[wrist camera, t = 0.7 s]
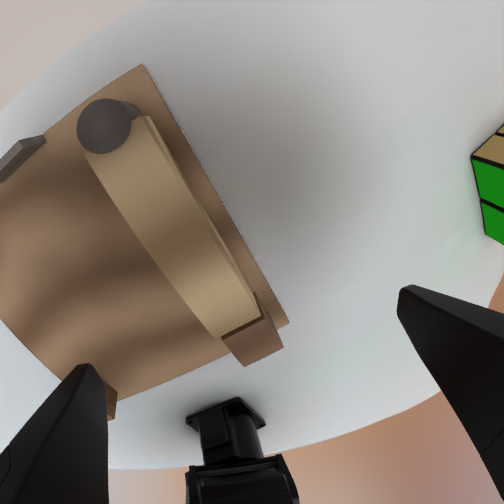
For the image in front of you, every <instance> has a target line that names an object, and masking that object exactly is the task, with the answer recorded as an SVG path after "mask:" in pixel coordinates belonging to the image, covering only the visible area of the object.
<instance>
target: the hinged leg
mask: <svg viewBox="0 0 504 504" xmlns="http://www.w3.org/2000/svg"><path fill="white" fill-rule="evenodd" d="M76 130H77V137H78V140H79V142H80V143H81V145H82V146H83V147H84V148H85V149H86V150H88V152H86V153H85V154H84V155H85V157H86V159H87V160H88V162H89V164H90V165H91V167H92V169H93V170H94V172H95V174H96V175H97V177H98V178H99V180H100V182H101V183H102V185H103V186H104V188H105V190H106V191H107V193H108V194H109V196H110V197H111V199H112V200H113V202H114V203H115V205H116V206H117V208H118V210H119V211H120V213H121V214H122V216H123V217H124V219H125V220H126V221H127V223H128V224H129V226H130V227H131V229H132V230H133V232H134V233H135V235H136V236H137V237H138V239H139V240H140V242H141V243H142V245H143V246H144V247H145V249H146V250H147V252H148V253H149V254H150V256H151V257H152V259H153V260H154V261H155V263H156V264H157V265H158V267H159V268H160V270H161V271H162V272H163V274H164V275H165V276H166V278H167V279H168V280H169V282H170V283H171V284H172V286H173V287H174V288H175V290H176V291H177V292H178V294H179V295H180V296H181V297H182V299H183V300H184V301H185V303H186V304H187V305H188V306H189V308H190V309H191V310H192V311H193V313H194V314H195V315H196V316H197V318H198V319H199V320H200V321H201V323H202V324H203V325H204V326H205V328H206V329H207V330H208V331H209V333H210V334H211V335H212V336H213V337H214V339H216V338H218V337H220V336H222V335H224V334H226V333H228V332H230V331H232V330H234V329H236V328H238V327H240V326H242V325H244V324H246V323H248V322H250V321H252V320H254V319H256V318H258V317H259V316H261V314H260V311H259V308H258V306H257V303H256V300H255V298H254V295H253V292H252V290H251V287H250V284H249V282H248V281H247V279H246V278H245V276H244V274H243V273H242V271H241V269H240V268H239V266H238V264H237V263H236V261H235V260H234V258H233V256H232V255H231V253H230V251H229V250H228V248H227V246H226V245H225V243H224V241H223V240H222V238H221V236H220V235H219V233H218V231H217V230H216V228H215V226H214V225H213V223H212V222H211V220H210V218H209V217H208V215H207V213H206V211H205V210H204V208H203V206H202V205H201V203H200V201H199V200H198V198H197V196H196V195H195V193H194V191H193V190H192V188H191V186H190V185H189V183H188V181H187V180H186V178H185V176H184V174H183V173H182V171H181V169H180V168H179V166H178V164H177V163H176V161H175V159H174V157H173V156H172V154H171V152H170V151H169V149H168V147H167V145H166V144H165V142H164V140H163V138H162V137H161V135H160V133H159V132H158V130H157V128H156V126H155V125H154V123H153V121H152V119H151V118H150V116H142V114H141V112H140V110H139V109H138V108H137V107H136V106H135V105H133V104H131V103H127V102H123V101H118V100H113V99H108V98H103V99H98V100H95V101H93V102H91V103H90V104H88V105H87V106H86V107H85V108H84V109H83V111H82V112H81V114H80V116H79V118H78V121H77V128H76Z"/></svg>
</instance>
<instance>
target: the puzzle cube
mask: <svg viewBox="0 0 504 504" xmlns="http://www.w3.org/2000/svg"><path fill="white" fill-rule="evenodd" d="M471 158H472V162H473V166H474V171H475V175H476V179H477V184H478V189H479V194H480V198H482V199H481V205H482V211H483V217H484V224H485V232H486V235H487V236H489V237H491V238H493V239H494V240H496V241H498V242H499V243H501V244H502V245H504V126H503V127H502V128H501V129H500V130H499V131H497V133H496V134H495V135H493V136H492V137H491V138H490V139H489V140H488V141H487V142H486V143H485V144H484V145H483V146H482V147H480V148H479V149H478V150H477V151H476V152H475V153H474V154H473V155H472V156H471Z"/></svg>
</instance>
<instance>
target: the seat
mask: <svg viewBox="0 0 504 504" xmlns="http://www.w3.org/2000/svg"><path fill="white" fill-rule="evenodd" d="M103 98H108V99H113V100H118V101H123V102H127V103H131V104H133V105H135V106H136V107H137V108H138V109H139V110H140V112H141V114H142V116H150V118H151V119H152V121H153V123H154V125H155V126H156V128H157V130H158V132H159V133H160V135H161V137H162V138H163V140H164V142H165V144H166V145H167V147H168V149H169V151H170V152H171V154H172V156H173V157H174V159H175V161H176V163H177V164H178V166H179V168H180V169H181V171H182V173H183V174H184V176H185V178H186V180H187V181H188V183H189V185H190V186H191V188H192V190H193V191H194V193H195V195H196V196H197V198H198V200H199V201H200V203H201V205H202V206H203V208H204V210H205V211H206V213H207V215H208V217H209V218H210V220H211V222H212V223H213V225H214V226H215V228H216V230H217V231H218V233H219V235H220V236H221V238H222V240H223V241H224V243H225V245H226V246H227V248H228V250H229V251H230V253H231V255H232V256H233V258H234V260H235V261H236V263H237V264H238V266H239V268H240V269H241V271H242V273H243V274H244V276H245V278H246V279H247V281H248V282H249V284H250V287H251V290H252V292H253V295H254V298H255V300H256V303H257V306H258V308H259V311H260V314H261V316H259V317H258V318H256V319H254V320H252V321H250V322H248V323H246V324H244V325H242V326H240V327H238V328H236V329H234V330H232V331H230V332H228V333H226V334H224V335H222V336H220V337H218V338H216V339H214V337H213V336H212V335H211V334H210V333H209V331H208V330H207V329H206V328H205V326H204V325H203V324H202V323H201V321H200V320H199V319H198V318H197V316H196V315H195V314H194V313H193V311H192V310H191V309H190V308H189V306H188V305H187V304H186V303H185V301H184V300H183V299H182V297H181V296H180V295H179V294H178V292H177V291H176V290H175V288H174V287H173V286H172V284H171V283H170V282H169V280H168V279H167V278H166V276H165V275H164V274H163V272H162V271H161V270H160V268H159V267H158V265H157V264H156V263H155V261H154V260H153V259H152V257H151V256H150V254H149V253H148V252H147V250H146V249H145V247H144V246H143V245H142V243H141V242H140V240H139V239H138V237H137V236H136V235H135V233H134V232H133V230H132V229H131V227H130V226H129V224H128V223H127V221H126V220H125V219H124V217H123V216H122V214H121V213H120V211H119V210H118V208H117V206H116V205H115V203H114V202H113V200H112V199H111V197H110V196H109V194H108V193H107V191H106V190H105V188H104V186H103V185H102V183H101V182H100V180H99V178H98V177H97V175H96V174H95V172H94V170H93V169H92V167H91V165H90V164H89V162H88V160H87V159H86V157H85V155H84V154H85V153H86V152H88V150H86V149H85V148H84V147H83V146H82V145H81V143H80V142H79V140H78V137H77V130H76V128H77V121H78V118H79V116H80V114H81V112H82V111H83V109H84V108H85V107H86V106H87V105H88V104H90V103H91V102H93V101H95V100H98V99H103ZM0 319H1V320H2V322H3V323H4V324H5V325H6V326H7V327H8V328H9V330H10V331H11V332H12V333H13V334H14V335H15V336H16V337H17V338H18V339H19V340H20V341H21V342H22V344H23V345H24V346H25V347H26V348H27V349H28V350H29V351H30V352H31V353H32V354H33V355H34V356H35V357H36V358H37V359H38V360H39V361H40V362H42V363H43V364H44V365H45V366H46V367H47V368H48V369H49V370H50V371H51V372H52V373H53V374H55V375H56V376H57V377H58V378H59V379H60V380H61V381H63V380H64V379H65V378H66V376H67V375H68V374H69V373H70V372H71V371H72V370H73V369H74V368H75V366H76V365H78V364H83V363H90V364H92V365H93V367H94V368H95V370H96V371H97V373H98V374H99V376H100V377H101V379H102V380H103V382H104V384H105V388H106V408H107V421H110V420H113V419H115V411H116V402H117V401H119V400H122V399H125V398H127V397H130V396H132V395H135V394H138V393H140V392H143V391H145V390H147V389H150V388H152V387H155V386H157V385H160V384H162V383H164V382H167V381H169V380H171V379H174V378H176V377H178V376H181V375H183V374H185V373H188V372H190V371H192V370H194V369H196V368H199V367H201V366H203V365H205V364H207V363H210V362H212V361H214V360H216V359H218V358H220V357H222V356H225V355H227V354H229V353H231V352H232V353H233V355H234V356H235V357H236V358H237V359H238V361H239V362H240V363H241V364H242V365H243V366H244V367H245V366H248V365H250V364H252V363H254V362H256V361H258V360H260V359H262V358H264V357H266V356H268V355H270V354H272V353H274V352H276V351H278V350H280V349H282V348H284V346H283V344H282V342H281V339H280V337H279V334H278V332H277V329H279V328H281V327H282V326H284V325H286V324H288V323H290V322H289V320H288V318H287V316H286V314H285V312H284V311H283V309H282V307H281V305H280V304H279V302H278V300H277V298H276V297H275V295H274V293H273V291H272V290H271V288H270V286H269V284H268V283H267V281H266V279H265V277H264V276H263V274H262V272H261V270H260V269H259V267H258V265H257V263H256V262H255V260H254V258H253V256H252V255H251V253H250V251H249V249H248V248H247V246H246V244H245V242H244V241H243V239H242V237H241V235H240V234H239V232H238V230H237V228H236V227H235V225H234V223H233V221H232V220H231V218H230V216H229V214H228V213H227V211H226V209H225V207H224V205H223V204H222V202H221V200H220V198H219V197H218V195H217V193H216V191H215V190H214V188H213V186H212V184H211V183H210V181H209V179H208V177H207V176H206V174H205V172H204V170H203V169H202V167H201V165H200V163H199V162H198V160H197V158H196V156H195V155H194V153H193V151H192V149H191V147H190V146H189V144H188V142H187V140H186V139H185V137H184V135H183V133H182V132H181V130H180V128H179V126H178V125H177V123H176V121H175V119H174V118H173V116H172V114H171V112H170V110H169V109H168V107H167V105H166V103H165V102H164V100H163V98H162V96H161V95H160V93H159V91H158V89H157V88H156V86H155V84H154V82H153V81H152V79H151V77H150V75H149V73H148V72H147V70H146V68H145V67H144V65H143V64H140V65H139V66H137V67H135V68H134V69H132V70H130V71H129V72H127V73H125V74H124V75H122V76H121V77H119V78H118V79H116V80H114V81H113V82H111V83H110V84H108V85H107V86H105V87H104V88H103V89H101V90H100V91H98V92H97V93H95V94H94V95H93V96H91V97H90V98H88V99H87V100H86V101H84V102H83V103H82V104H80V105H79V106H78V107H76V108H75V109H74V110H72V111H71V112H70V113H69V114H67V115H66V116H65V117H64V118H62V119H61V120H60V121H59V122H58V123H56V124H55V125H54V126H53V127H52V128H50V129H49V130H48V131H47V132H46V133H45V134H44V135H40V136H36V137H31V138H26V139H22V140H19V141H18V142H17V143H16V144H15V145H14V146H13V147H12V148H11V149H10V150H9V151H8V152H7V153H6V154H5V155H4V156H3V157H2V158H1V159H0Z"/></svg>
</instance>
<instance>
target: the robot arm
mask: <svg viewBox="0 0 504 504" xmlns="http://www.w3.org/2000/svg"><path fill="white" fill-rule="evenodd" d="M397 316H398V318H399V320H400V322H401V324H402V325H403V327H404V329H405V331H406V333H407V335H408V336H409V338H410V340H411V342H412V344H413V346H414V348H415V350H416V351H417V353H418V355H419V356H420V358H421V360H422V361H423V363H424V364H425V366H426V367H427V369H428V370H429V372H430V373H431V375H432V376H433V378H434V379H435V381H436V382H437V384H438V386H439V387H440V389H441V390H442V392H443V393H444V395H445V397H446V398H447V400H448V401H449V403H450V405H451V406H452V408H453V410H454V411H455V413H456V415H457V416H458V418H459V419H460V421H461V423H462V425H463V426H464V428H465V430H466V432H467V433H468V435H469V437H470V438H471V440H472V442H473V444H474V446H475V447H476V449H477V451H478V453H479V454H480V457H481V458H482V461H483V462H484V464H485V466H486V468H487V470H488V472H489V474H490V476H491V477H492V480H493V482H494V484H495V486H496V488H497V490H498V492H499V494H500V496H501V498H502V499H503V501H504V314H503V313H500V312H497V311H494V310H490V309H488V308H485V307H482V306H479V305H475V304H472V303H469V302H466V301H463V300H460V299H457V298H454V297H451V296H448V295H445V294H441V293H438V292H435V291H432V290H429V289H426V288H423V287H419V286H416V285H408V286H405V287H403V288H401V289H400V291H399V298H398V304H397ZM186 424H187V425H189V426H190V427H192V428H193V429H195V430H196V431H197V432H199V434H200V442H201V448H202V453H203V461H204V465H203V466H195V465H192V466H189V471H188V472H187V473H185V478H186V504H300V503H299V496H298V492H297V489H296V485H295V483H294V481H293V478H292V476H291V474H290V472H289V470H288V467H287V465H286V463H285V461H284V459H283V456H282V454H277V455H275V456H271V457H265V458H264V455H263V452H262V448H261V444H260V441H259V437H258V433H257V429H260V428H262V427H264V426H266V423H265V421H264V420H263V419H262V418H261V417H260V416H259V415H258V414H257V413H256V412H255V411H253V410H252V409H251V408H250V407H249V406H248V405H247V404H246V403H245V402H244V401H243V400H242V399H240V398H235V399H233V400H230V401H228V402H226V403H223V404H221V405H218V406H216V407H213V408H211V409H208V410H206V411H203V412H200V413H198V414H195V415H192V416H190V417H187V418H186ZM0 504H109V494H108V424H107V408H106V388H105V384H104V382H103V380H102V379H101V377H100V376H99V374H98V373H97V371H96V370H95V368H94V367H93V365H92V364H90V363H83V364H78V365H76V366H75V368H74V369H73V370H72V371H71V372H70V373H69V374H68V375H67V376H66V378H65V379H64V380H63V381H62V382H61V383H60V384H59V385H58V387H57V388H56V389H55V390H54V391H53V392H52V393H51V394H50V396H49V397H48V398H47V399H46V400H45V401H44V403H43V404H42V405H41V406H40V407H39V408H38V409H37V411H36V412H35V413H34V414H33V415H32V417H31V418H30V419H29V420H28V421H27V422H26V424H25V425H24V426H23V427H22V428H21V430H20V431H19V432H18V433H17V435H16V436H15V437H14V438H13V439H12V441H11V442H10V443H9V445H8V446H7V447H6V448H5V449H4V451H3V452H2V453H1V454H0Z"/></svg>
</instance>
